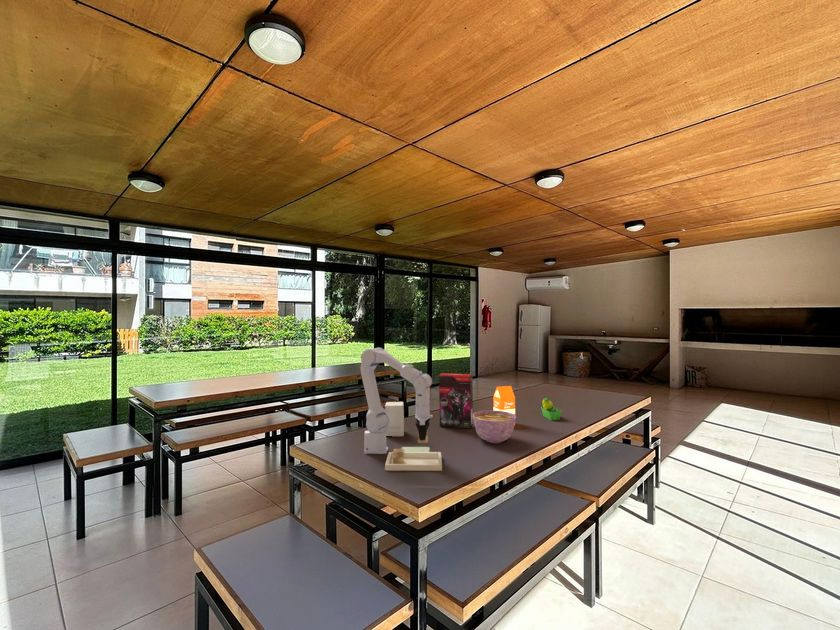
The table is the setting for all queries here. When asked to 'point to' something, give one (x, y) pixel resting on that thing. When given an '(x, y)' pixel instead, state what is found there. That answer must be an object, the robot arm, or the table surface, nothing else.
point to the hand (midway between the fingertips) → (422, 438)
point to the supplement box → (395, 418)
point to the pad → (416, 449)
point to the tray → (416, 462)
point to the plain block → (398, 456)
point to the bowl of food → (494, 425)
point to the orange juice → (504, 399)
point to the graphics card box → (456, 400)
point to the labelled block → (423, 440)
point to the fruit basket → (550, 410)
